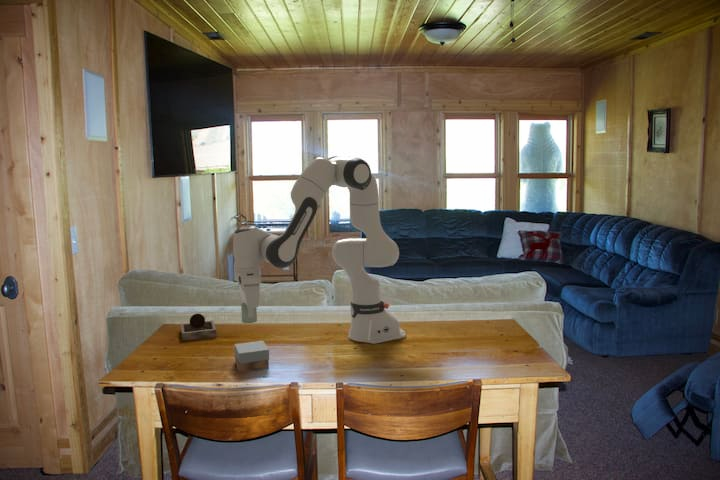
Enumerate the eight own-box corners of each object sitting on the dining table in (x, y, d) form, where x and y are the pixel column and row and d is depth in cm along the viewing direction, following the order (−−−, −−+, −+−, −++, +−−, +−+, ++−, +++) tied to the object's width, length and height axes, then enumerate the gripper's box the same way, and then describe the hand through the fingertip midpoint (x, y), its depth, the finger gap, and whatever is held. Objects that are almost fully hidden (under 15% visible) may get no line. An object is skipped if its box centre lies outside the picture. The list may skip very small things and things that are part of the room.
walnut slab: (264, 359, 204) (263, 350, 204) (268, 369, 195) (268, 359, 194) (235, 363, 201) (234, 353, 201) (238, 373, 192) (238, 363, 191)
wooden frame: (213, 327, 241) (213, 320, 240) (216, 336, 229) (216, 329, 228) (181, 331, 237) (180, 324, 236) (182, 340, 224) (181, 333, 224)
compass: (193, 336, 229) (192, 319, 228) (189, 331, 236) (188, 314, 235) (213, 333, 233) (213, 316, 232) (209, 328, 240) (208, 311, 239)
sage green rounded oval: (255, 318, 199) (254, 301, 198) (258, 322, 194) (257, 304, 193) (241, 319, 197) (240, 302, 196) (243, 323, 192) (242, 306, 192)
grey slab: (263, 349, 204) (263, 340, 204) (269, 359, 195) (268, 349, 194) (234, 353, 201) (234, 344, 200) (239, 363, 191) (239, 353, 191)
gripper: (234, 269, 202) (235, 307, 204) (242, 281, 183) (244, 323, 185) (252, 268, 204) (253, 305, 206) (262, 279, 185) (263, 321, 187)
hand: (249, 314), depth 195 cm, fingers closed on sage green rounded oval, 5 cm apart
